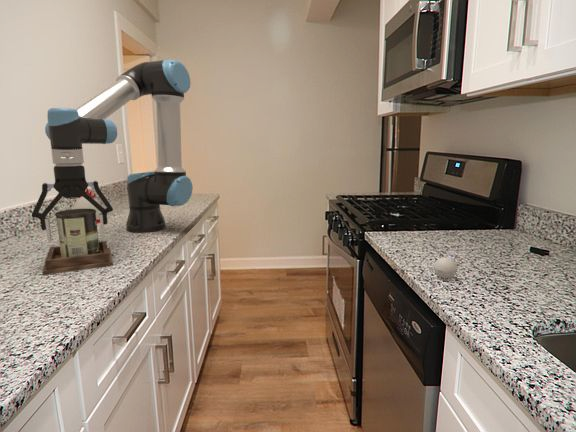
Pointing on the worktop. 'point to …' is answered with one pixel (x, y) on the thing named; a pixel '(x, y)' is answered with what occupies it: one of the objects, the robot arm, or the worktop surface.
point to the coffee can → (77, 232)
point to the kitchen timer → (87, 205)
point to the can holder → (76, 260)
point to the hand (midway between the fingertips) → (77, 238)
